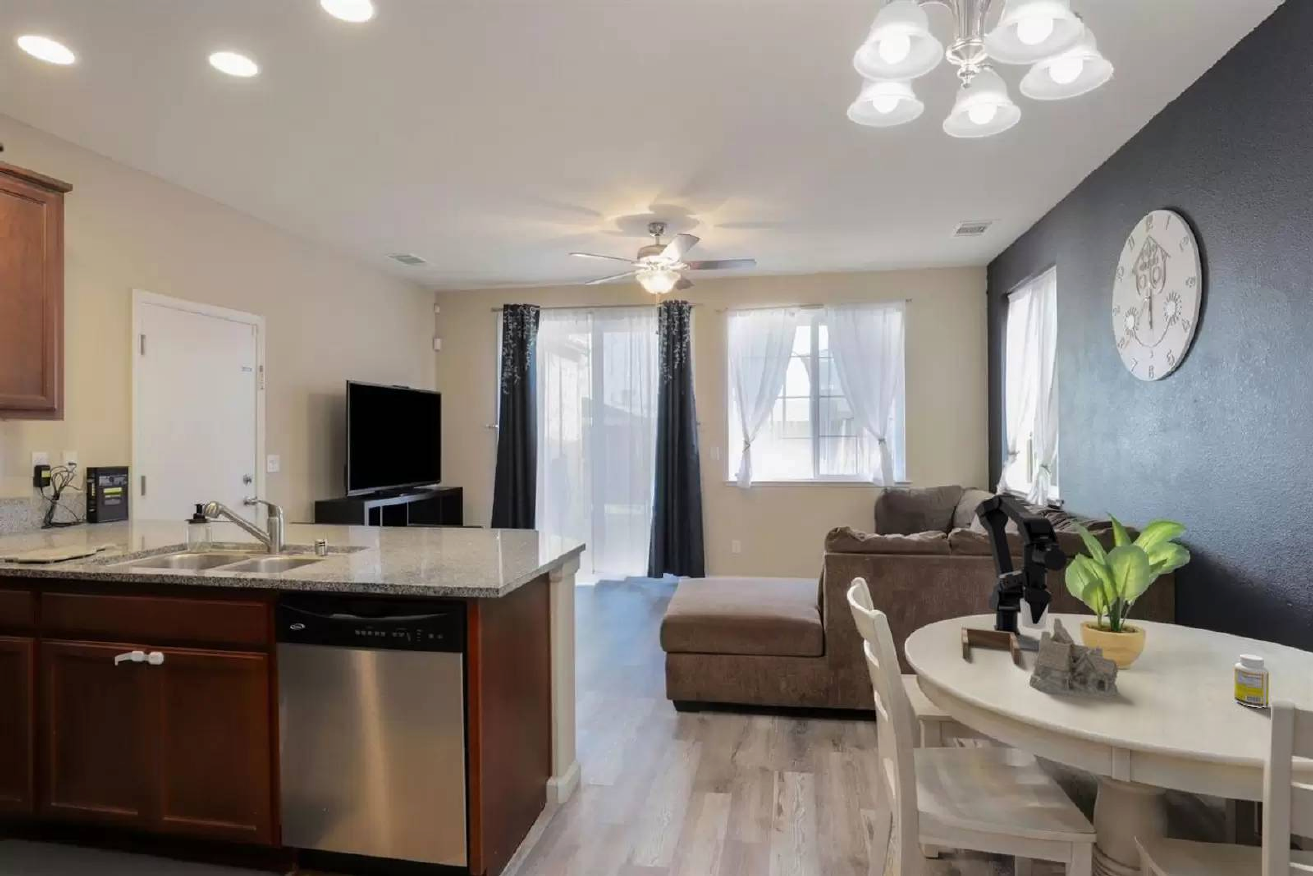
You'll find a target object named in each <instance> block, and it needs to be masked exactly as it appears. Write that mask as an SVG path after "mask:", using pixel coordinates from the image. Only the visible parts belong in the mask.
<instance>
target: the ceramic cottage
mask: <svg viewBox="0 0 1313 876" xmlns="http://www.w3.org/2000/svg"><path fill="white" fill-rule="evenodd" d="M1053 621H1054V623H1053V635H1052V634H1051V632H1050V630H1044V629H1042V631H1041V636H1040V640H1039V641H1040V642H1039V652H1038V655H1037V658H1036V659H1035V664H1034V669H1033V670H1032V674H1031V675H1030V678H1029V686H1030V687H1032V688H1033V689H1035V690H1038V691H1040V692H1042V693H1043V692H1044V693H1046V694H1047V693H1048V694H1053V695H1058V696H1061V697H1062V696H1064V697H1079V698H1081V697H1083V698H1085V697H1086V698H1088V697H1089V698H1104V699H1107V698H1114V697H1116V695H1117V694H1119V691H1118V687H1117V685H1116V683H1115V682H1116V681H1117V680H1116V679H1118V673H1119V668H1118V665H1117V662H1116V660H1115V659H1113V658H1112V659H1111V658H1106V657H1104V654H1103V648H1102V646H1098V645H1097V646H1095V648H1094V647H1093V646H1090V647H1089V646H1086V645H1080V644H1076V643H1075V641H1074V639H1073V637H1072V636H1071V635H1070V634H1069V631H1068V630H1067V629H1066V627H1064V626H1063V624H1062V620H1061V618H1060V617H1054V618H1053ZM1051 635H1052V636H1051Z"/></svg>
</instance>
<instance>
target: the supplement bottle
mask: <svg viewBox="0 0 1313 876" xmlns="http://www.w3.org/2000/svg"><path fill="white" fill-rule="evenodd" d="M1238 660H1239V662H1237V663H1235V664H1234V700H1236V701H1238V702H1240V703H1242V704H1245V705H1254V706H1258V707H1262V706H1268V707H1269V691H1270V690H1269V683H1270V681H1269V676H1270V671H1269V669H1268V668H1267V667H1266V666H1265V660H1264V658H1263V657H1261V656H1258V655H1254V654H1247V653H1246V654H1240V655H1239V659H1238ZM1236 701H1235V702H1236ZM1238 702H1237V703H1238Z"/></svg>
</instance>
